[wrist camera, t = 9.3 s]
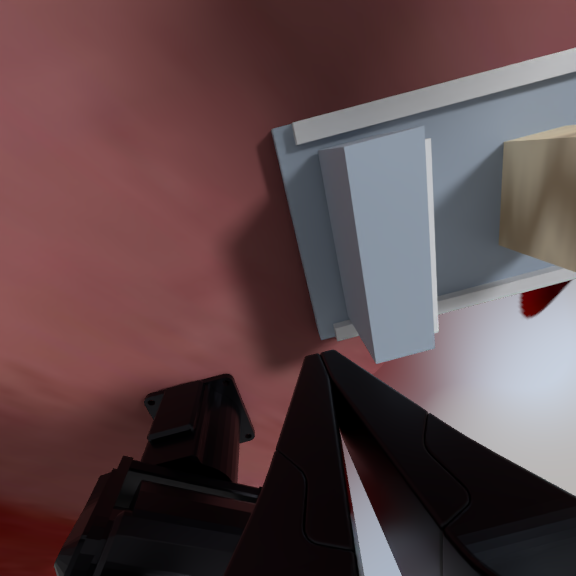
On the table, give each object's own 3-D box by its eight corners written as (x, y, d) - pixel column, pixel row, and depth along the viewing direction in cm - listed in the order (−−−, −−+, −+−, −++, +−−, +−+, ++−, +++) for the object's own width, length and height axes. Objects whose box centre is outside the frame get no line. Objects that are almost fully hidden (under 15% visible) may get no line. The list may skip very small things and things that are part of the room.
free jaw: (400, 302, 20) (444, 345, 15) (347, 315, 20) (376, 363, 15) (383, 133, 15) (437, 122, 11) (317, 150, 16) (343, 146, 11)
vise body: (675, 238, 21) (839, 269, 15) (318, 332, 21) (343, 399, 15) (745, 5, 16) (1034, -86, 10) (271, 130, 16) (280, 113, 10)
